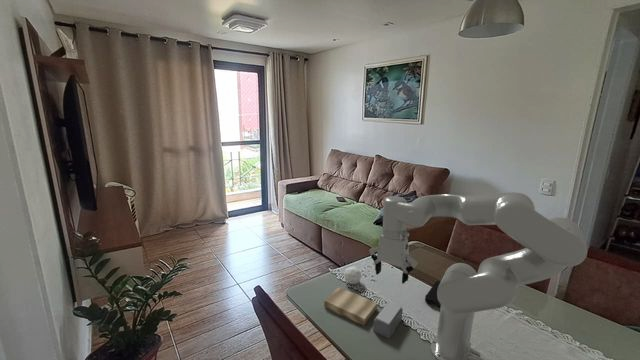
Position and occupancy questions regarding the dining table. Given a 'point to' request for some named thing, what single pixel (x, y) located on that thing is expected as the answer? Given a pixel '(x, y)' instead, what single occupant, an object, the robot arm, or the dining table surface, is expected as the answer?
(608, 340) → the dining table surface
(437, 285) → the black sponge
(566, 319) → the dining table surface
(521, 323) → the dining table surface
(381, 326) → the grey rectangular block
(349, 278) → the geometric ball
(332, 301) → the oak stand
